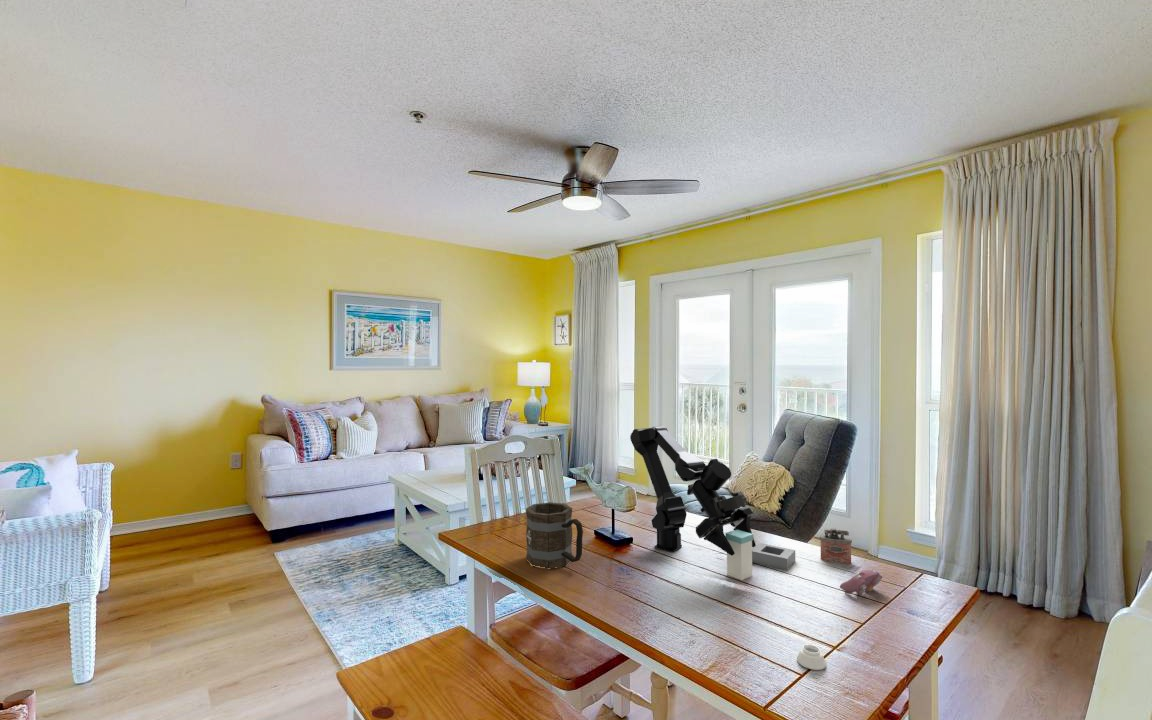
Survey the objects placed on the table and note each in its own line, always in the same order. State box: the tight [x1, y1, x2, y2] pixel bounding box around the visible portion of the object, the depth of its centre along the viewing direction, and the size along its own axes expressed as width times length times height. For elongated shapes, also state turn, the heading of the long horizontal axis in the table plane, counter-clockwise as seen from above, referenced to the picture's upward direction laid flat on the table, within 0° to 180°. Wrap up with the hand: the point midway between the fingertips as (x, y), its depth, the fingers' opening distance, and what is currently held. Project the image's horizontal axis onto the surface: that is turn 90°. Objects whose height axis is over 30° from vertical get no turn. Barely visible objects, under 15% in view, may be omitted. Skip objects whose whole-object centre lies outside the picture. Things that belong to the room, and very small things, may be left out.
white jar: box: [796, 643, 827, 671], centre depth 99 cm, size 5×3×5 cm
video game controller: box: [839, 569, 883, 595], centre depth 129 cm, size 10×5×7 cm, turn 119°
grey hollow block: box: [752, 542, 796, 571], centre depth 146 cm, size 10×8×4 cm
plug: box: [724, 529, 754, 581], centre depth 137 cm, size 5×5×12 cm
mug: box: [525, 501, 584, 569], centre depth 149 cm, size 20×14×15 cm
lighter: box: [819, 527, 853, 565], centre depth 147 cm, size 8×3×10 cm, turn 68°
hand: (744, 550), depth 136 cm, fingers open, 9 cm apart
